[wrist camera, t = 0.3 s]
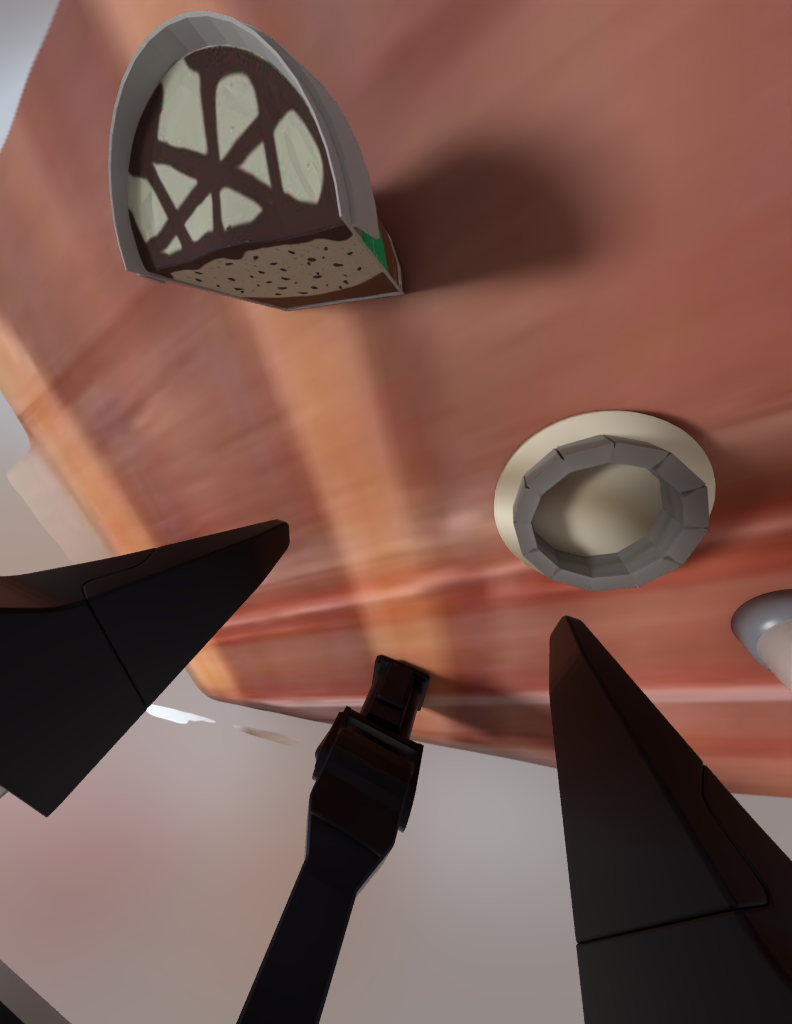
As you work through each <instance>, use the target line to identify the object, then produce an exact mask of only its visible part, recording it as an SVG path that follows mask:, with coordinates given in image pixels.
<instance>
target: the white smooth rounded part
mask: <svg viewBox="0 0 792 1024" xmlns="http://www.w3.org/2000/svg"><path fill="white" fill-rule="evenodd" d="M731 628H732V631H733V633H734V635H735V636H736V637H737V638H738V640H739V641H740V642H741V643H742V644H743V645H744V646H745V648H746V649H747V650H748V651H749V652H750V653H751V654H752V655H753V657H754V658H755V659H756V660H757V661H758V662H759V663H760V664H761V665H762V666H764V667H765V668H766V669H768V670H770V671H772V672H773V673H774V675H775V676H776V677H777V678H778V679H779V680H780V681H781V682H782V683H783V685H784V686H785V687H786V688H787V689H788V690H789V691H790V692H791V693H792V589H789V590H780V591H774V592H770V593H766V594H763V595H760V596H757V597H755V598H753V599H751V600H749V601H747V602H746V603H744V604H743V605H741V606H740V607H739V608H738V609H737V610H736V612H735V613H734V615H733V617H732V620H731Z"/></svg>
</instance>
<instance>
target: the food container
mask: <svg viewBox="0 0 792 1024" xmlns="http://www.w3.org/2000/svg"><path fill="white" fill-rule="evenodd" d="M108 168H109V190H110V200H111V207H112V215H113V222H114V227H115V231H116V236H117V240H118V245H119V249H120V252H121V256H122V259H123V263H124V266H125V269H126V270H127V271H130V272H133V273H137V275H138V276H141V277H144V278H146V279H149V280H152V281H155V282H158V283H161V284H166V283H165V281H168V282H172V283H176V284H180V285H184V286H188V287H192V288H196V289H200V290H204V291H208V292H212V293H216V294H220V295H224V296H228V297H232V298H236V299H240V300H244V301H248V302H252V303H256V304H260V305H264V306H268V307H272V308H276V309H280V310H284V311H290V310H297V309H305V308H312V307H319V306H326V305H333V304H340V303H347V302H354V301H361V300H368V299H375V298H382V297H389V296H397V295H404V294H405V289H404V277H403V270H402V267H401V264H400V261H399V258H398V255H397V252H396V249H395V246H394V243H393V242H392V240H391V238H390V236H389V235H388V233H387V231H386V229H385V227H384V226H383V224H382V222H381V220H380V219H379V217H378V215H377V212H376V205H375V200H374V196H373V191H372V187H371V182H370V178H369V173H368V171H367V168H366V165H365V162H364V159H363V156H362V154H361V151H360V148H359V145H358V142H357V140H356V138H355V136H354V134H353V132H352V130H351V128H350V126H349V124H348V122H347V120H346V118H345V116H344V114H343V112H342V111H341V109H340V108H339V107H338V105H337V104H336V102H335V101H334V100H333V98H332V97H331V95H330V94H329V93H328V91H327V90H326V89H325V87H324V86H323V85H322V84H321V83H320V82H319V81H318V80H317V79H316V78H315V77H314V76H313V75H312V74H311V73H310V72H309V71H308V70H307V69H305V68H304V67H303V66H302V65H301V64H300V63H299V62H298V61H297V60H296V59H295V58H294V57H293V56H291V55H290V54H289V53H288V52H287V51H286V50H285V49H284V48H283V47H282V46H281V45H279V44H278V43H277V42H276V41H275V40H274V39H273V38H271V37H269V36H268V35H266V34H265V33H263V32H261V31H260V30H258V29H256V28H255V27H253V26H251V25H250V24H246V23H242V22H239V21H237V20H235V19H234V18H232V17H229V16H225V15H222V14H218V13H214V12H210V11H197V12H185V13H182V14H180V15H178V16H176V17H173V18H171V19H169V20H166V21H164V22H163V23H162V24H161V25H160V26H159V27H157V28H156V29H155V30H154V31H153V32H152V33H150V34H149V35H148V36H147V37H146V39H145V40H144V41H143V43H142V44H141V46H140V47H139V48H138V50H137V51H136V53H135V54H134V56H133V57H132V59H131V61H130V64H129V66H128V68H127V70H126V72H125V75H124V77H123V79H122V82H121V85H120V89H119V92H118V96H117V99H116V103H115V106H114V111H113V118H112V124H111V131H110V141H109V161H108Z"/></svg>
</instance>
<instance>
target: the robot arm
mask: <svg viewBox="0 0 792 1024" xmlns="http://www.w3.org/2000/svg"><path fill="white" fill-rule="evenodd" d="M289 543H290V538H289V525H288V523H287V522H284V521H281V520H278V519H276V520H271V521H267V522H263V523H258V524H254V525H250V526H246V527H241V528H237V529H233V530H229V531H225V532H220V533H216V534H212V535H208V536H203V537H199V538H195V539H191V540H186V541H182V542H178V543H174V544H170V545H165V546H161V547H158V548H152V549H148V550H144V551H140V552H135V553H131V554H126V555H122V556H117V557H112V558H107V559H102V560H97V561H92V562H87V563H82V564H76V565H71V566H66V567H61V568H55V569H50V570H45V571H39V572H34V573H29V574H22V575H16V576H15V575H14V576H0V798H2V797H3V796H4V795H5V794H6V793H7V792H10V793H12V794H13V795H15V796H16V797H18V798H19V799H20V800H22V801H23V802H25V803H26V804H28V805H29V806H31V807H32V808H33V809H35V810H36V811H38V812H39V813H41V814H42V815H44V816H45V817H48V816H49V815H50V814H51V813H52V812H53V811H54V810H55V809H56V808H57V807H58V806H59V805H60V804H61V803H62V802H63V801H64V800H65V798H67V796H68V795H69V794H70V793H71V792H72V791H73V790H74V788H75V787H77V785H78V784H79V783H80V782H81V781H82V780H83V779H84V778H85V777H86V775H87V774H88V773H89V772H90V771H91V770H92V769H93V768H94V767H95V766H96V765H97V763H98V762H99V761H100V760H101V759H102V758H103V757H104V756H105V755H106V754H107V752H108V751H109V750H110V749H111V748H112V747H113V746H114V745H115V744H116V743H117V741H118V740H119V739H120V738H121V737H122V736H123V735H124V734H125V733H126V732H127V731H128V729H129V728H130V727H131V726H132V725H133V724H134V723H135V722H136V721H137V720H138V719H139V717H140V716H141V715H142V714H143V713H144V712H145V711H146V710H147V708H148V707H149V706H150V705H151V704H152V703H153V702H154V701H155V700H156V698H157V697H158V696H159V695H160V694H161V693H162V692H163V691H164V690H165V689H166V687H167V686H168V685H169V684H170V683H171V682H172V681H173V680H174V679H175V678H176V676H177V675H178V674H179V673H180V672H181V671H182V670H183V669H184V668H185V667H186V666H187V664H188V663H189V662H190V661H191V660H192V659H193V658H194V657H195V656H196V655H197V654H198V652H199V651H200V650H201V649H202V648H203V647H204V646H205V645H206V644H207V643H208V641H209V640H210V639H211V638H212V637H213V636H214V635H215V634H216V633H217V632H218V630H219V629H220V628H221V627H222V626H223V625H224V624H225V623H226V622H227V621H228V619H229V618H230V617H231V616H232V615H233V614H234V613H235V612H236V611H237V610H238V609H239V607H240V606H241V605H242V604H243V603H244V602H245V601H246V600H247V599H248V598H249V596H250V595H251V594H252V593H253V592H254V591H255V590H256V589H257V588H258V587H259V585H260V584H261V583H262V582H263V581H264V579H265V578H266V577H267V575H268V574H269V573H270V571H271V570H272V569H273V567H274V566H275V565H276V563H277V562H278V561H279V559H280V558H281V557H282V555H283V554H284V552H285V551H286V550H287V548H288V546H289ZM428 683H429V676H428V675H426V674H424V673H421V672H419V671H416V670H414V669H411V668H409V667H407V666H404V665H402V664H399V663H397V662H394V661H392V660H390V659H387V658H385V657H382V656H377V658H376V660H375V667H374V674H373V681H372V686H371V688H370V691H369V693H368V695H367V698H366V700H365V702H364V704H363V707H362V709H361V711H360V713H358V712H356V711H354V710H352V709H351V708H350V707H348V706H346V708H345V710H344V712H339V714H338V716H337V718H336V720H335V722H334V724H333V725H332V727H331V729H330V731H329V732H328V733H327V735H326V736H325V738H324V739H323V741H322V742H321V743H320V745H319V746H318V748H317V750H316V752H315V757H316V764H315V770H314V773H313V776H312V779H313V780H315V781H316V782H315V784H314V787H313V789H312V791H311V794H310V798H309V807H308V815H307V830H306V846H305V861H304V864H303V866H302V868H301V870H300V873H299V875H298V878H297V880H296V882H295V885H294V887H293V890H292V892H291V895H290V897H289V899H288V902H287V904H286V907H285V909H284V911H283V914H282V916H281V918H280V921H279V923H278V925H277V928H276V930H275V933H274V935H273V937H272V940H271V942H270V945H269V947H268V949H267V952H266V954H265V957H264V959H263V961H262V964H261V966H260V968H259V971H258V973H257V976H256V978H255V980H254V983H253V985H252V987H251V990H250V992H249V995H248V997H247V1000H246V1002H245V1004H244V1007H243V1009H242V1011H241V1014H240V1016H239V1019H238V1021H237V1023H236V1024H319V1021H320V1018H321V1014H322V1011H323V1007H324V1004H325V1001H326V997H327V994H328V990H329V987H330V983H331V980H332V976H333V973H334V970H335V966H336V963H337V959H338V956H339V952H340V949H341V946H342V942H343V939H344V935H345V932H346V928H347V925H348V922H349V918H350V915H351V911H352V908H353V904H354V901H355V898H356V897H357V895H358V894H359V893H360V892H361V890H362V889H363V888H364V887H365V885H366V884H367V883H368V882H369V881H370V879H371V878H372V877H373V876H374V874H375V873H376V872H377V871H378V869H379V868H380V867H381V866H382V864H383V862H384V861H385V859H386V857H387V856H388V854H389V852H390V851H391V849H392V847H393V845H394V843H395V839H396V835H397V831H398V830H399V831H401V832H404V830H405V828H406V825H407V822H408V819H409V816H410V812H411V808H412V805H413V801H414V796H415V792H416V786H417V781H418V775H419V770H420V764H421V758H422V752H423V747H424V746H423V745H422V744H420V743H418V744H417V743H416V742H414V741H412V740H410V739H409V738H410V735H411V731H412V727H413V724H414V720H415V716H416V713H417V711H420V710H421V707H422V703H423V700H424V697H425V693H426V690H427V686H428ZM549 695H550V706H551V715H552V725H553V734H554V743H555V752H556V761H557V771H558V779H559V789H560V798H561V807H562V815H563V825H564V835H565V844H566V853H567V861H568V871H569V881H570V890H571V898H572V908H573V917H574V927H575V936H576V941H577V943H578V944H577V945H576V948H577V957H578V966H579V975H580V985H581V994H582V1003H583V1012H584V1021H585V1024H792V861H791V860H790V859H789V858H788V857H787V855H786V854H785V853H784V852H783V851H782V850H781V849H780V848H779V847H778V846H777V845H776V844H775V842H774V841H773V840H772V839H771V838H770V837H769V836H768V835H767V834H766V833H765V831H764V830H763V829H762V828H761V827H760V826H759V825H758V824H757V823H756V822H755V821H754V819H753V818H752V817H751V816H750V815H749V814H748V813H747V811H746V810H745V809H744V808H743V807H742V806H741V805H740V803H739V802H738V801H737V800H736V799H735V798H734V797H733V796H732V794H731V793H730V792H729V791H728V790H727V789H726V788H725V786H724V785H723V784H722V783H721V782H720V781H719V779H718V778H717V777H716V776H715V775H714V774H713V773H712V771H711V770H710V769H709V768H708V767H707V766H705V765H703V761H702V760H701V759H700V758H699V756H698V755H697V754H696V753H695V752H694V751H693V749H692V748H691V747H690V746H689V745H688V744H687V743H686V741H685V740H684V739H683V738H682V737H681V736H680V734H679V733H678V732H677V731H676V730H675V729H674V727H673V726H672V725H671V724H670V723H669V722H668V720H667V719H666V718H665V717H664V716H663V715H662V714H661V712H660V711H659V710H658V709H657V708H656V707H655V705H654V704H653V703H652V702H651V701H650V700H649V698H648V697H647V696H646V695H645V694H644V693H643V691H642V690H641V689H640V688H639V687H638V686H637V685H636V683H635V682H634V681H633V680H632V679H631V678H630V676H629V675H628V674H627V673H626V672H625V671H624V669H623V668H622V667H621V666H620V665H619V664H618V663H617V661H616V660H615V659H614V658H613V657H612V656H611V654H610V653H609V652H608V651H607V650H606V649H605V647H604V646H603V645H602V644H601V643H600V642H599V640H598V639H597V638H596V637H595V636H594V635H593V634H592V632H591V631H590V630H589V629H588V628H587V627H586V625H585V624H584V623H583V622H582V621H581V620H579V619H576V618H573V617H570V616H567V615H566V616H563V617H562V618H561V619H560V621H559V623H558V624H557V626H556V627H555V629H554V630H553V632H552V634H551V636H550V653H549ZM0 1024H71V1023H70V1022H69V1021H68V1020H66V1019H65V1018H64V1017H63V1016H62V1015H61V1014H60V1013H59V1012H58V1011H56V1010H55V1009H54V1008H53V1007H52V1006H51V1005H50V1004H49V1003H48V1002H46V1001H45V1000H44V999H43V998H42V997H41V996H40V995H39V994H38V993H37V992H35V991H34V990H33V989H32V988H31V987H30V986H29V985H28V984H26V983H25V982H24V981H23V980H22V979H21V978H20V977H19V976H18V975H17V974H15V973H14V972H13V971H12V970H11V969H10V968H9V967H8V966H7V965H6V964H4V963H3V962H2V961H1V960H0Z"/></svg>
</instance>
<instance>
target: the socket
mask: <svg viewBox="0 0 792 1024" xmlns="http://www.w3.org/2000/svg"><path fill="white" fill-rule="evenodd" d="M715 485H716V484H715V478H714V472H713V469H712V466H711V464H710V461H709V459H708V457H707V456H706V454H705V452H704V451H703V449H702V448H701V447H700V445H699V444H698V443H697V442H696V441H695V440H694V439H693V438H692V437H691V436H689V435H688V434H687V433H686V432H684V431H683V430H682V429H680V428H678V427H676V426H675V425H673V424H671V423H669V422H667V421H664V420H661V419H659V418H656V417H653V416H649V415H646V414H641V413H637V412H632V411H624V410H597V411H590V412H583V413H580V414H576V415H572V416H569V417H566V418H563V419H561V420H558V421H556V422H554V423H552V424H550V425H548V426H546V427H544V428H542V429H541V430H539V431H538V432H536V433H535V434H533V435H532V436H531V437H529V438H528V439H527V440H526V441H525V442H523V443H522V444H521V445H520V446H519V447H518V448H517V450H516V451H515V452H514V453H513V454H512V456H511V457H510V458H509V460H508V461H507V463H506V464H505V466H504V468H503V470H502V472H501V474H500V477H499V479H498V482H497V487H496V491H495V501H494V514H495V520H496V525H497V528H498V531H499V533H500V536H501V537H502V539H503V541H504V543H505V544H506V545H507V547H508V548H509V549H510V551H511V552H512V553H513V554H514V555H515V556H516V557H517V558H518V559H519V560H521V561H522V562H523V563H524V564H526V565H527V566H529V567H531V568H532V569H534V570H536V571H538V572H540V573H542V574H544V575H545V576H546V577H548V578H551V580H554V581H557V582H560V583H564V584H567V585H571V586H574V587H577V588H581V589H584V590H587V591H589V590H590V588H591V590H592V591H601V590H613V589H626V588H636V584H637V585H638V586H639V587H640V586H642V585H644V584H646V583H648V582H650V581H652V580H654V579H656V578H658V577H660V576H662V575H665V574H667V573H669V572H671V571H673V570H675V569H677V568H679V567H681V566H680V565H679V564H684V563H685V562H686V560H687V559H688V557H689V556H690V555H691V553H692V552H693V551H694V549H695V548H696V547H697V545H698V544H699V543H700V541H701V540H702V539H703V537H704V536H705V534H706V533H707V532H708V530H709V529H707V528H706V527H710V521H709V516H710V514H711V511H712V508H713V504H714V499H715ZM678 563H679V564H678Z"/></svg>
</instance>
